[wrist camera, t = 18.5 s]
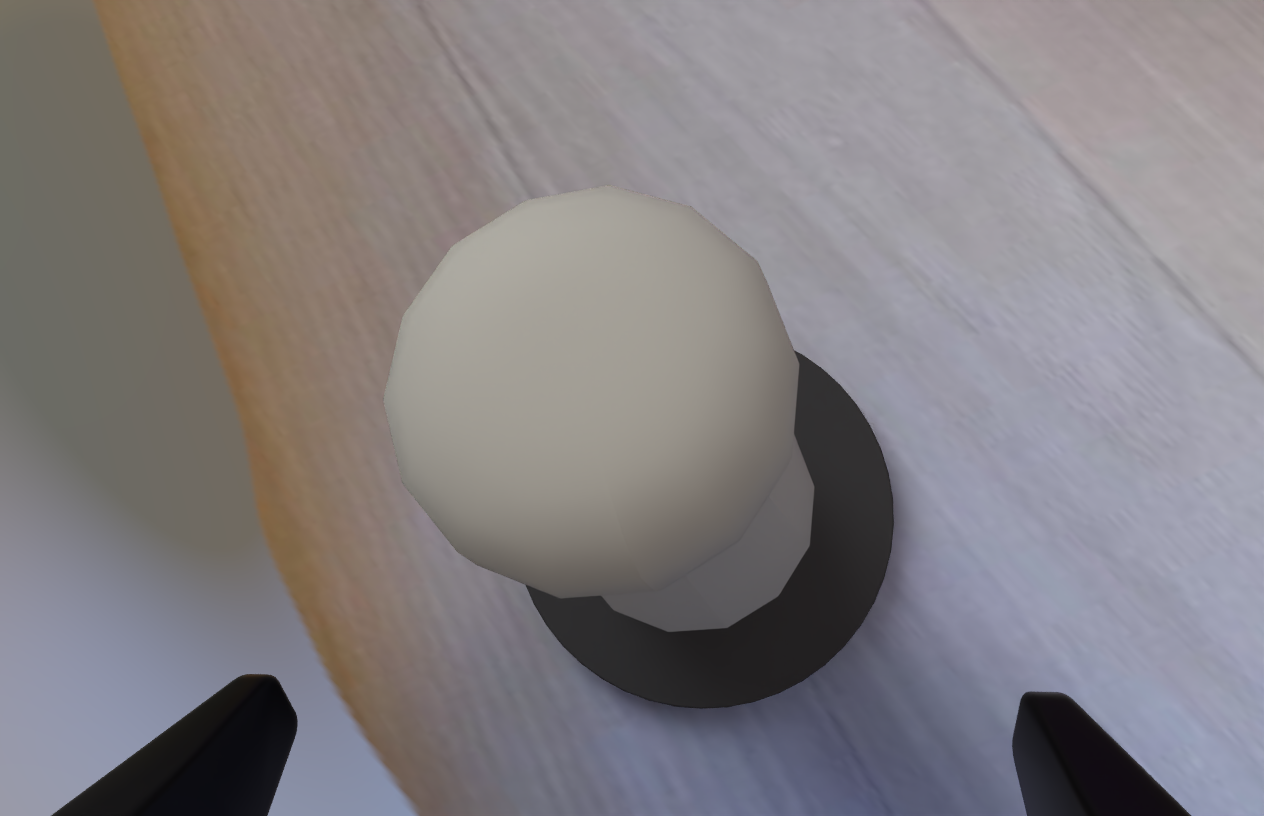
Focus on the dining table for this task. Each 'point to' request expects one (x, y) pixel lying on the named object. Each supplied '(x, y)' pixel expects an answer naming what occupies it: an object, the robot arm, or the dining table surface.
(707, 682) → the disc
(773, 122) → the dining table surface
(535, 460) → the salt shaker
